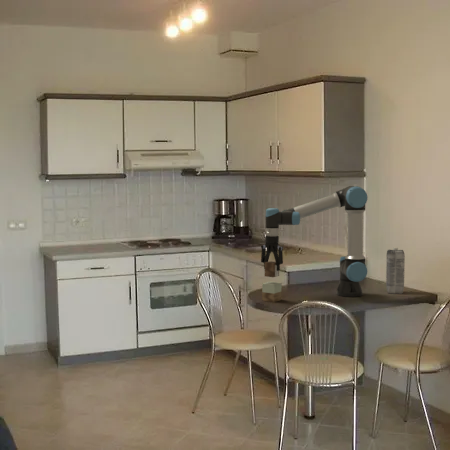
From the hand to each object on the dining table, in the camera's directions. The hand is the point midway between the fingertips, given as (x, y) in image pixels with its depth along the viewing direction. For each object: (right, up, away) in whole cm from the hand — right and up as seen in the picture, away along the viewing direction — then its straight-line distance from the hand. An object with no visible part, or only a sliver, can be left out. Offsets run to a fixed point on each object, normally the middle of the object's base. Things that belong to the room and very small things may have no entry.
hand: (271, 275), depth 407 cm
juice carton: (+76, -12, +23) cm, 80 cm away
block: (0, 0, 0) cm, 0 cm away
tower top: (0, -9, +1) cm, 9 cm away
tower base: (0, -14, +1) cm, 14 cm away
